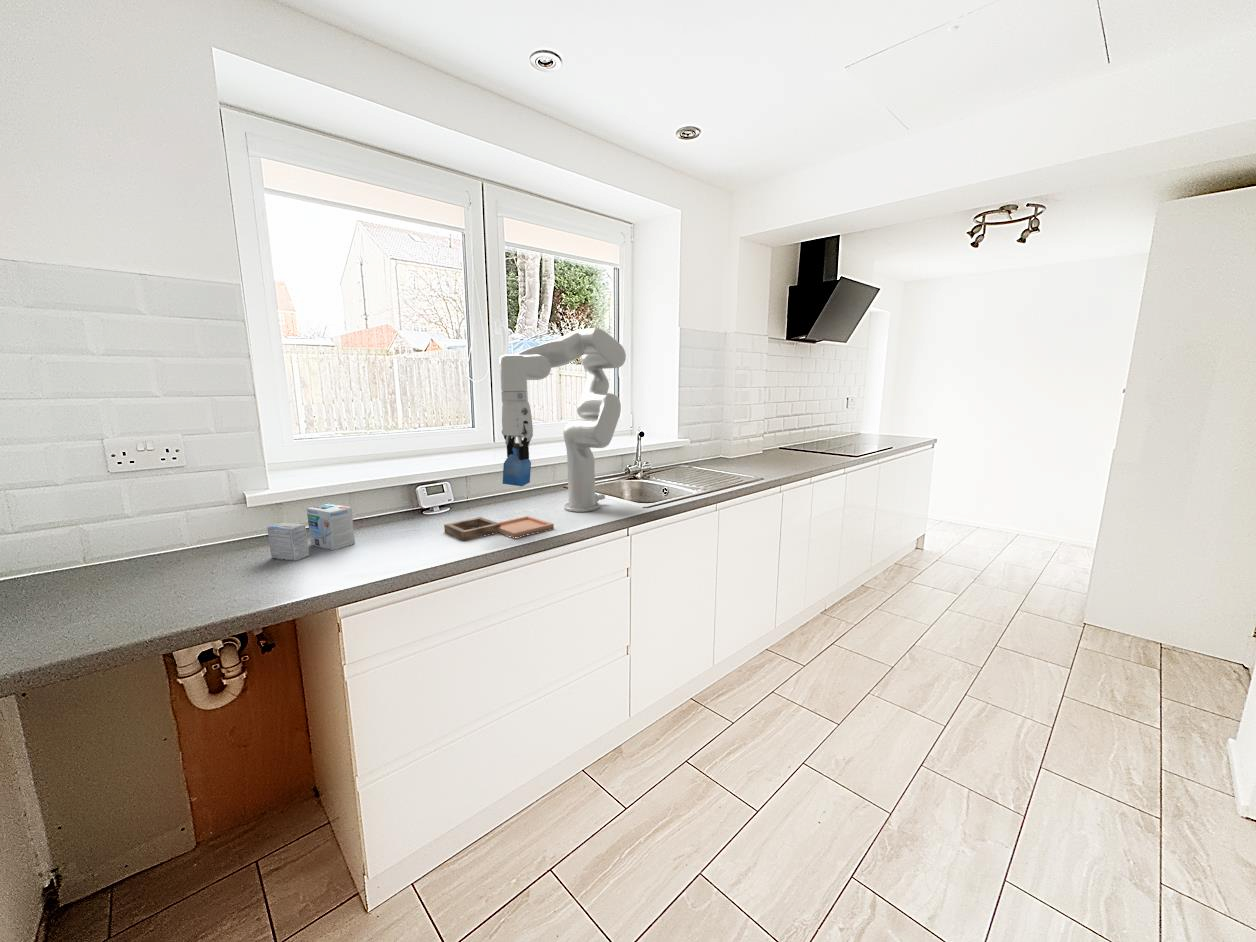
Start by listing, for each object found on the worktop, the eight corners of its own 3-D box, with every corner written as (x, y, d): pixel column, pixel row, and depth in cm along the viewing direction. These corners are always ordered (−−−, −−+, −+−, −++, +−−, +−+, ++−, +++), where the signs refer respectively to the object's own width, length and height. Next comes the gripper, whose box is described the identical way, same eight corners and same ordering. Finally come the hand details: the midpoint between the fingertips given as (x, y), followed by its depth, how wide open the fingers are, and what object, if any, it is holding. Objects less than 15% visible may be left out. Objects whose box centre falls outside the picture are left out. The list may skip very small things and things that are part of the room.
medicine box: (310, 555, 132) (306, 524, 130) (294, 561, 127) (290, 528, 126) (286, 553, 134) (282, 522, 132) (270, 559, 130) (266, 526, 128)
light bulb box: (309, 545, 141) (305, 508, 139) (333, 538, 147) (329, 502, 145) (333, 550, 136) (328, 512, 134) (356, 543, 142) (352, 506, 140)
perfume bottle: (529, 482, 155) (532, 444, 152) (522, 486, 149) (524, 446, 146) (510, 479, 156) (513, 441, 153) (502, 483, 150) (504, 443, 147)
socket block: (480, 524, 160) (480, 516, 159) (500, 531, 151) (500, 523, 151) (444, 532, 151) (444, 524, 151) (463, 540, 143) (463, 532, 143)
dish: (527, 520, 164) (527, 515, 164) (553, 528, 154) (553, 523, 154) (489, 529, 154) (489, 524, 154) (514, 538, 144) (514, 533, 144)
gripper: (542, 397, 144) (545, 459, 147) (510, 396, 156) (513, 454, 159) (520, 398, 139) (523, 462, 142) (488, 397, 151) (492, 457, 154)
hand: (518, 457), depth 151 cm, fingers closed on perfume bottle, 5 cm apart
